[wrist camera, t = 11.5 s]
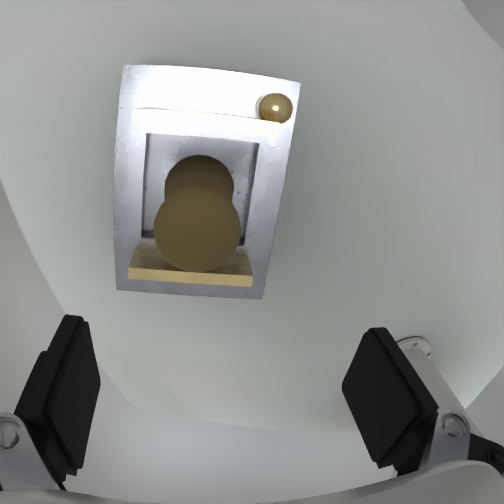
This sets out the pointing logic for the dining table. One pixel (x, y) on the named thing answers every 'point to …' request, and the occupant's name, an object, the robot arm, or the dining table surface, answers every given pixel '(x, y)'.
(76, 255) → the dining table surface
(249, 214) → the grey slotted box
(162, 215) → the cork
